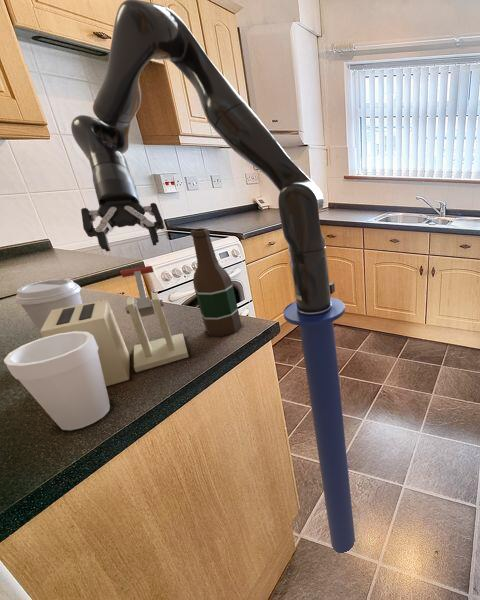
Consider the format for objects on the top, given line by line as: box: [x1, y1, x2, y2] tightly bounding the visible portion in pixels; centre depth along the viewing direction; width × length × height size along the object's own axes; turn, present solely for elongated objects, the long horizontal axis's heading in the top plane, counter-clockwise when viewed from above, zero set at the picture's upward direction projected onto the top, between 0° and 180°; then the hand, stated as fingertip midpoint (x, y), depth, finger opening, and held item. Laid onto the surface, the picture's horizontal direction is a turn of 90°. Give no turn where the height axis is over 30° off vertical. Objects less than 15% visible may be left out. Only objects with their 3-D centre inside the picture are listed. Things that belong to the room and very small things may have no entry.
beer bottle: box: [190, 227, 242, 337], centre depth 76 cm, size 8×8×24 cm
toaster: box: [39, 299, 131, 387], centre depth 62 cm, size 10×8×13 cm
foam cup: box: [3, 331, 111, 431], centre depth 52 cm, size 10×9×13 cm
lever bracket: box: [124, 291, 190, 373], centre depth 69 cm, size 10×9×13 cm
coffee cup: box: [14, 277, 84, 335], centre depth 70 cm, size 10×10×15 cm
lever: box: [120, 265, 156, 317], centre depth 69 cm, size 13×6×2 cm, turn 37°
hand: (131, 246), depth 75 cm, fingers open, 8 cm apart
